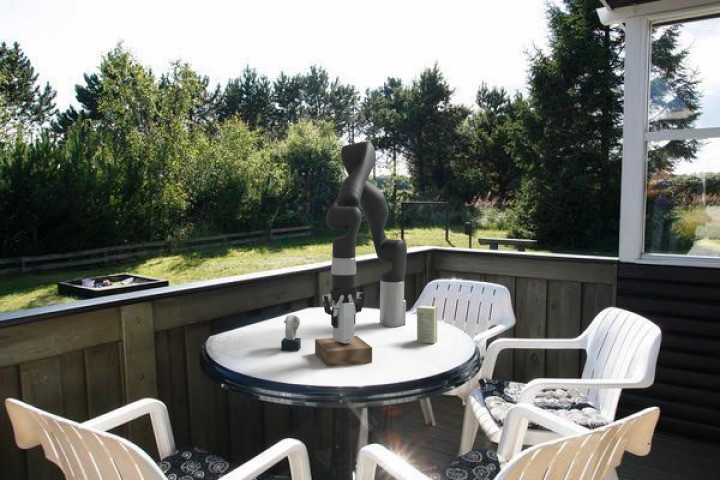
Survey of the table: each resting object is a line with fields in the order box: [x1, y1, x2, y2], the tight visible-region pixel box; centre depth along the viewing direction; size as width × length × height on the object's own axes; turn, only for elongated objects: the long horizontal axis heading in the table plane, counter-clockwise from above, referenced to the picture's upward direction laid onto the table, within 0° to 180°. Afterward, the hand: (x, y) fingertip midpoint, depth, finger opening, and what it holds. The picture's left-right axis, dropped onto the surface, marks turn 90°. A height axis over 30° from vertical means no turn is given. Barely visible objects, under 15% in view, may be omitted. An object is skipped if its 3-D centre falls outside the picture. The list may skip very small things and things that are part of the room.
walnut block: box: [314, 335, 373, 368], centre depth 165 cm, size 14×14×5 cm
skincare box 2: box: [416, 305, 438, 344], centre depth 184 cm, size 6×4×12 cm
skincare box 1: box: [332, 303, 355, 343], centre depth 164 cm, size 6×4×12 cm
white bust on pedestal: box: [280, 314, 302, 352], centre depth 173 cm, size 6×8×11 cm
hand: (343, 326), depth 164 cm, fingers closed on skincare box 1, 5 cm apart
